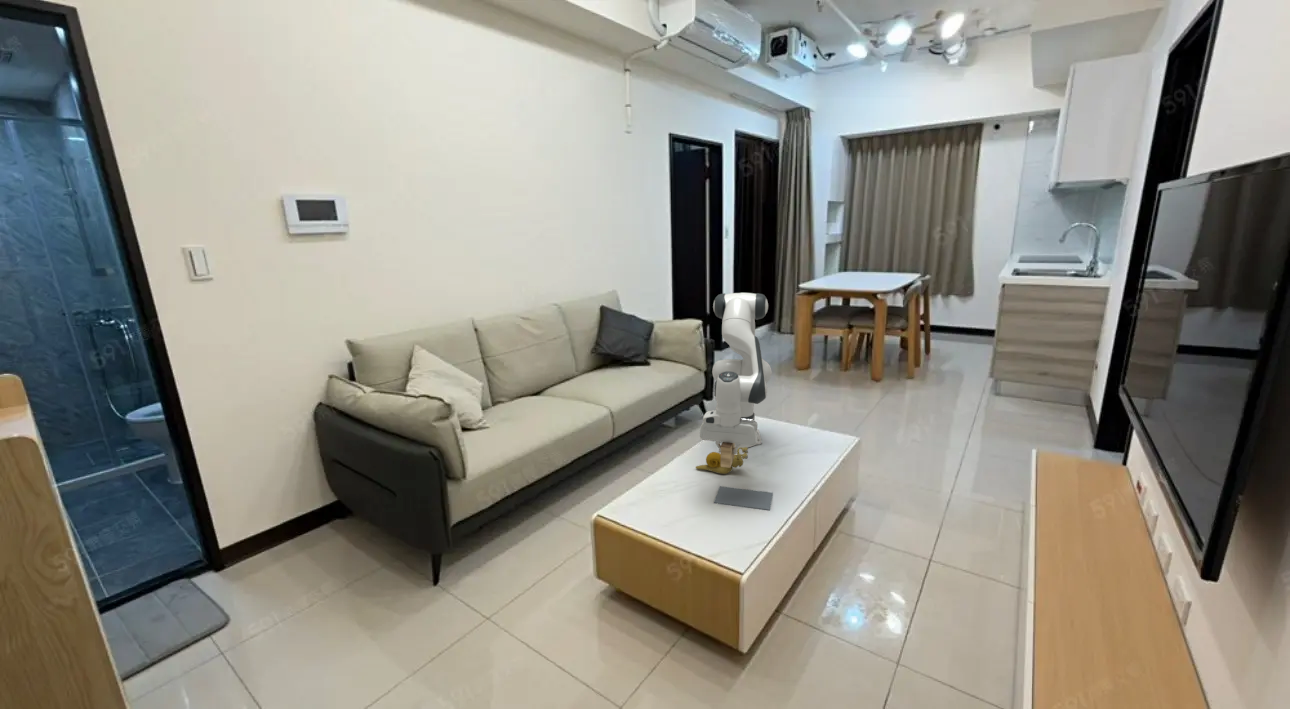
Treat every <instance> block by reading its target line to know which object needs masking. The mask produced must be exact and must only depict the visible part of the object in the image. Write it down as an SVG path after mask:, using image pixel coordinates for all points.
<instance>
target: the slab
mask: <svg viewBox="0 0 1290 709" xmlns="http://www.w3.org/2000/svg"><path fill="white" fill-rule="evenodd" d="M720 445H721V452H720V454H721V467H728V468H730V467H731V465H732V462H733V459H734V456H735V455H736V454H732V449H733V448H735V443H728V442H721V443H720Z"/></svg>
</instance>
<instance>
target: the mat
mask: <svg viewBox="0 0 1290 709" xmlns="http://www.w3.org/2000/svg"><path fill="white" fill-rule="evenodd" d="M773 495H774V492H773V491H772V492H770V491H764V490H756V489H755V490H754V489H748V488H747V489H746V488H738V487H731V486H730V487H729V486H723V485H719V487H718V490H717V491H716V495H715V498H714V501H713V504H717V503H718V504H719V505H726V506H734V507H739V508H740V507H741V508H747V509H754V510H755V509H757V510H762V511H771V507H772V506H771V505H772V501H773Z"/></svg>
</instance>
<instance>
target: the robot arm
mask: <svg viewBox="0 0 1290 709" xmlns="http://www.w3.org/2000/svg"><path fill="white" fill-rule="evenodd" d="M712 305H713V306H712V308H713V312H714V315H715V316H716V317H717V318H719V319H721V320H722V321H721V322H722V324H721V335H722V336H721V337H722V339H723V340H724V341H725V343H727V345H729V348H730V350H731V351H732V352H734V353H736V354H738V355H740V356H741V357H742V358H741V359H732V358H731V359H730V358H727V359H719V360H716V361H715V363H713V365H712V371H711V373H712V377H713V379H714V381H715V382H714V386H713V388H714V393H713V394H714V397H715V401H716V406H715V409H713V410H709V411H706V412H705V413H704V414H703V417H702V424H701V425H700V430H699V438H700V439H701V440H702V441H710V442H715V445H716V447H717V448H718V453H721V443H722V442H728V443H735V448H733V449H732V454H735V455H737V450H738V448H740V447H741V448H745V447H746V448H750V447H754V446H756V445H762V443H763V442H762V438H761V433H760V429H758V422H757V421H756V420H755V418H756V417H755V411H754V408H755V406H754V404H757V405H758V404H761V402H763V401H764V400H766V398H767V396H768V386H767V383H769V381H770V380H771V378H772V374H773V371H772V368H771V365H770V364H769V363H768V361H766V360H765V359H764V358H762V351H761V345H760V340H759V338H758V337H757V336H756V322H755V320H757V321H758V320H761V319H764V317H766V314H767V313H768V310H769V303H768V299H767V297H766V296H765V294H763V293H758V292H757V293H753V292H733V293H720V294H718V295H717V296H716V297H715V298H714V300H713V304H712Z"/></svg>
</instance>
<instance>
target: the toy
mask: <svg viewBox="0 0 1290 709" xmlns="http://www.w3.org/2000/svg"><path fill="white" fill-rule="evenodd" d="M740 450H741V451H742V453H740ZM748 453H749V447H747V448H746V447H745V448H741V447H740V448H738V449H737V454H735V456H734V459H733V462H732V465H731V467H730V468H728V467H721V452H716V451H712V452H709V454H707V456H706V457H705V463H706V464H702V465H700V464H699V465H697V466H695V469H696V470H702V471H709V472H712V473H718V474H722V475H726V474H729V473H730V472H732V471H733V468H734V469H736V468H738V466H739V468H741V467H742V466H743V465H744V460H747V459H748Z"/></svg>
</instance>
